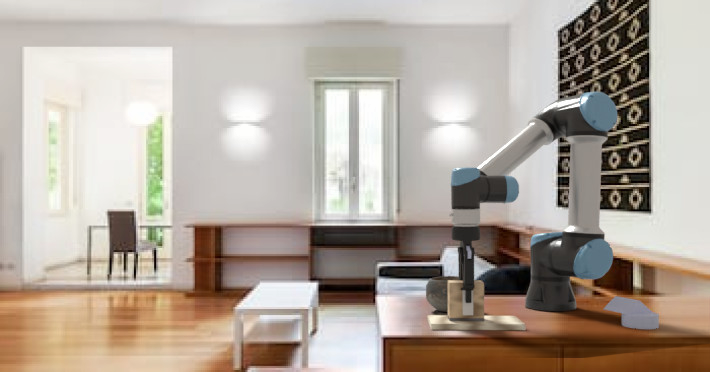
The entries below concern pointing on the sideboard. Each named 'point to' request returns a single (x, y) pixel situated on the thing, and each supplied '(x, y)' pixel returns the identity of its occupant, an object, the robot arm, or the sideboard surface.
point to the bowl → (439, 292)
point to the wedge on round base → (634, 313)
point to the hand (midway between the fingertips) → (466, 312)
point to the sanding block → (456, 301)
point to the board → (476, 323)
